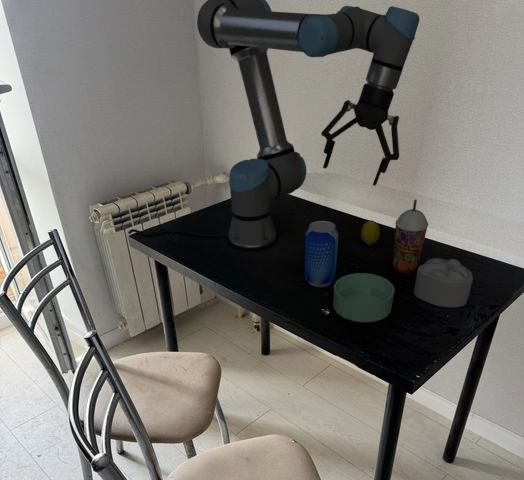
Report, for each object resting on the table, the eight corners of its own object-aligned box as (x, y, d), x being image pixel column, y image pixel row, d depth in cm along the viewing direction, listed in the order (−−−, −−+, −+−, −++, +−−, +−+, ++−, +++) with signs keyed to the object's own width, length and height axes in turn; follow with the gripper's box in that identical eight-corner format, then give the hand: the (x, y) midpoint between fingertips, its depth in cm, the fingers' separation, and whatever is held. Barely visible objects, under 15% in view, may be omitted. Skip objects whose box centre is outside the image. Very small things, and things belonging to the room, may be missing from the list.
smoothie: (387, 274, 139) (396, 204, 126) (391, 260, 145) (401, 192, 133) (418, 278, 136) (430, 207, 124) (421, 264, 143) (434, 195, 130)
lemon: (377, 241, 155) (380, 216, 150) (379, 249, 150) (382, 224, 146) (359, 240, 155) (361, 216, 150) (360, 249, 151) (362, 224, 146)
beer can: (338, 275, 139) (342, 221, 129) (331, 290, 133) (334, 234, 123) (309, 271, 141) (310, 217, 132) (301, 286, 135) (301, 231, 125)
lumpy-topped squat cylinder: (429, 279, 136) (435, 250, 130) (475, 296, 129) (483, 266, 123) (408, 294, 130) (413, 265, 125) (455, 313, 123) (463, 282, 117)
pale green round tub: (335, 323, 121) (336, 304, 118) (331, 291, 133) (332, 273, 129) (396, 323, 120) (399, 303, 117) (386, 291, 132) (389, 272, 128)
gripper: (431, 101, 119) (397, 188, 131) (333, 70, 123) (308, 157, 135) (430, 104, 113) (394, 194, 125) (326, 71, 117) (301, 162, 129)
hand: (349, 175), depth 130 cm, fingers open, 13 cm apart
